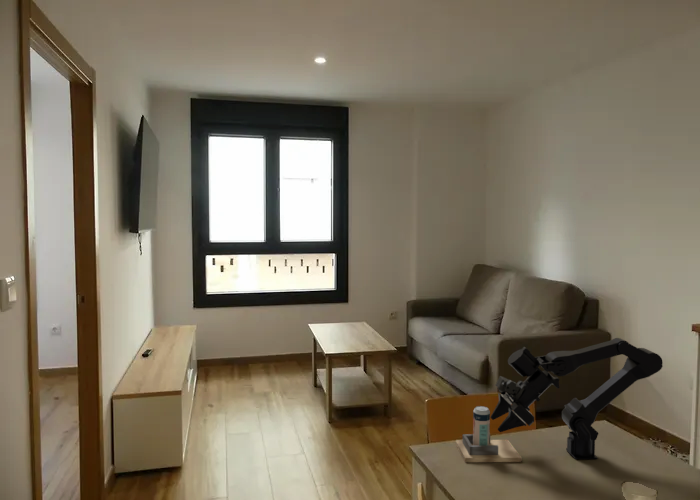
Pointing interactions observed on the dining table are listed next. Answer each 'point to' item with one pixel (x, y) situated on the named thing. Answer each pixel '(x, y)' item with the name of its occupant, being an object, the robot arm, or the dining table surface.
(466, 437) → the seat board
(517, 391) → the robot arm
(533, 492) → the dining table surface
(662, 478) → the dining table surface
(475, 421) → the beer can
